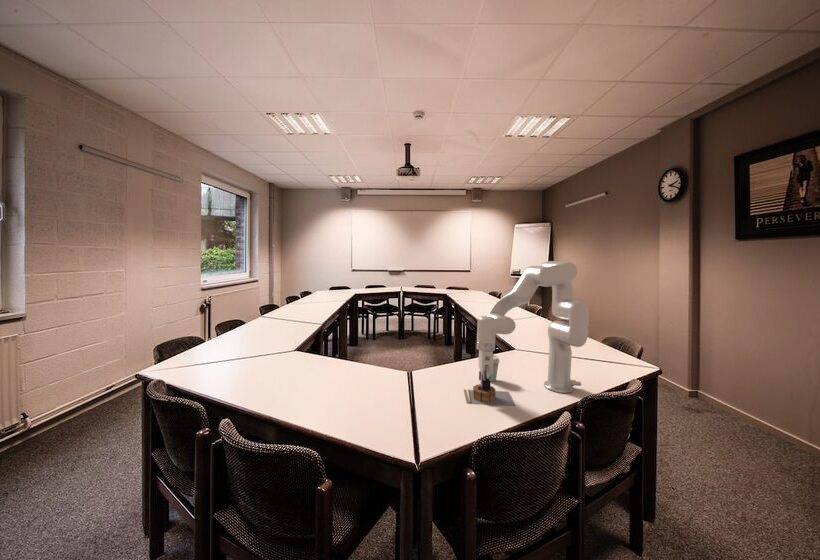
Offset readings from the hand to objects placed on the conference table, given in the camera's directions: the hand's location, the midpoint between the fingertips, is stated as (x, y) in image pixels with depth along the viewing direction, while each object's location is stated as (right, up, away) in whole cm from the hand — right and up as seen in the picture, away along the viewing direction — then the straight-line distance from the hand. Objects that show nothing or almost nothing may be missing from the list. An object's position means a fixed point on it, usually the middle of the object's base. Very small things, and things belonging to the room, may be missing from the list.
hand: (484, 384), depth 137 cm
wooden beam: (0, -6, +1) cm, 6 cm away
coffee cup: (+8, -5, +21) cm, 23 cm away
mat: (+2, -6, +1) cm, 7 cm away
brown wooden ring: (0, -6, 0) cm, 6 cm away
